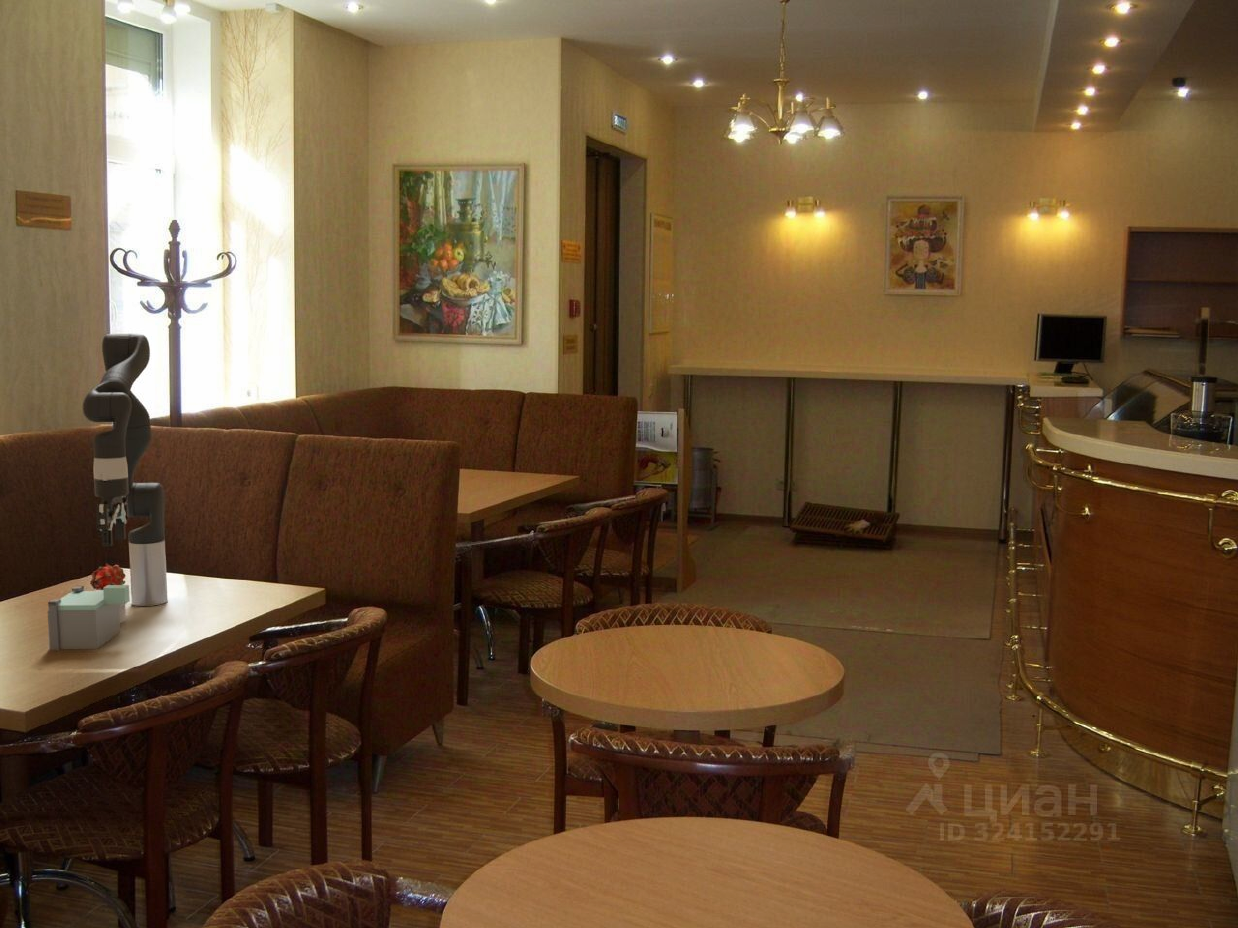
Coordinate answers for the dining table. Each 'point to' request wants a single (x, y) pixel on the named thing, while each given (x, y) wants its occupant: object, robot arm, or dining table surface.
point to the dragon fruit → (107, 577)
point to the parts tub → (81, 625)
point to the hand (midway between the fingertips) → (114, 543)
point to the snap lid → (95, 598)
